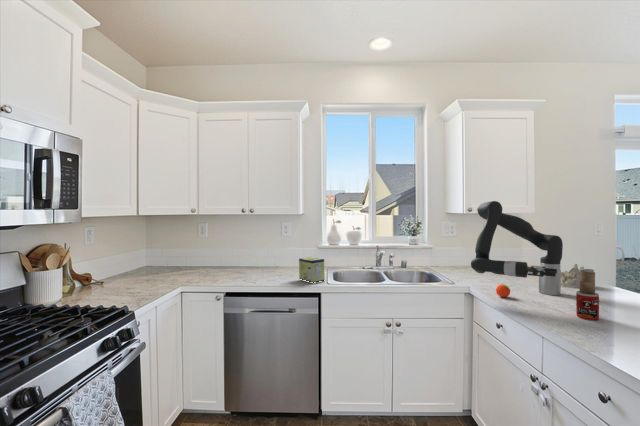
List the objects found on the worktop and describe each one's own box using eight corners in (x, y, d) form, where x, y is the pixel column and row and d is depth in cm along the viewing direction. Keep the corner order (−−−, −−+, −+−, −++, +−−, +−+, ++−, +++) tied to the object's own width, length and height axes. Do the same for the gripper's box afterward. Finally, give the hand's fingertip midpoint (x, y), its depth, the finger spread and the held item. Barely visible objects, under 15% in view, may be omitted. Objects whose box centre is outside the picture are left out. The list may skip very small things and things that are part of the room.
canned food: (575, 318, 139) (575, 293, 139) (577, 313, 145) (577, 289, 145) (598, 322, 134) (598, 296, 134) (599, 317, 140) (599, 292, 140)
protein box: (310, 278, 228) (309, 256, 228) (325, 281, 217) (324, 259, 217) (298, 280, 221) (298, 258, 221) (313, 284, 210) (313, 260, 210)
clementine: (515, 298, 171) (515, 285, 171) (505, 299, 169) (504, 286, 169) (502, 294, 178) (502, 282, 178) (492, 295, 176) (492, 283, 176)
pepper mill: (577, 291, 141) (577, 269, 141) (582, 290, 143) (583, 268, 143) (591, 294, 136) (591, 270, 136) (597, 293, 139) (597, 269, 139)
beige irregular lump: (594, 286, 194) (591, 262, 194) (575, 290, 189) (572, 265, 189) (567, 283, 208) (565, 260, 209) (549, 286, 203) (546, 262, 204)
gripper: (513, 263, 152) (555, 266, 141) (517, 259, 162) (557, 262, 152) (513, 279, 152) (555, 283, 141) (517, 274, 162) (557, 278, 152)
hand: (556, 272), depth 147 cm, fingers open, 8 cm apart
